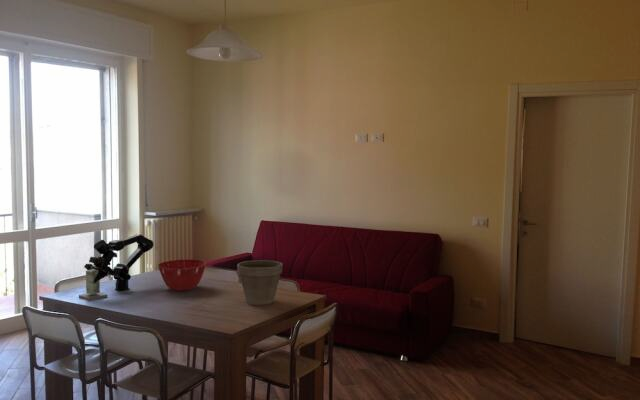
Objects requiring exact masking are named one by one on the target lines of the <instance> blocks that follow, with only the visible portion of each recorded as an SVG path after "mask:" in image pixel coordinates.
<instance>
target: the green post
mask: <svg viewBox="0 0 640 400" xmlns="http://www.w3.org/2000/svg"><path fill="white" fill-rule="evenodd" d="M97 274H98V270H95V269H91V270H87V269H86V270H85V285H86V286H85V288H86V290H85V291H86V292H85V294H92V295H93V294H96V293H100V292H101V291H100V289H101V287H100V281H101V279H100V280H99V281H97V282H96V283H94V280H95V278H96V276H97Z"/></svg>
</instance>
